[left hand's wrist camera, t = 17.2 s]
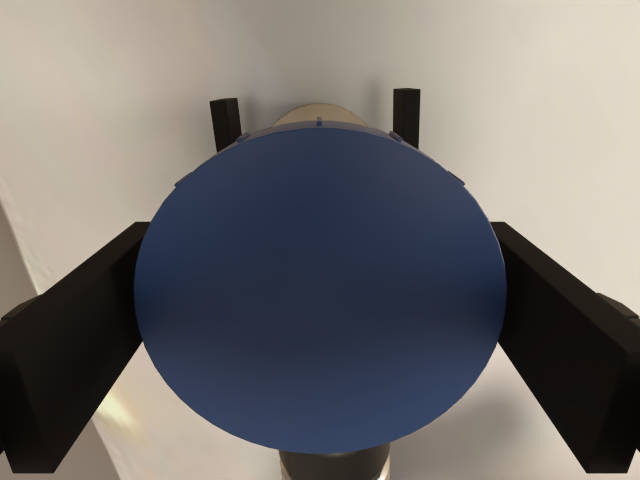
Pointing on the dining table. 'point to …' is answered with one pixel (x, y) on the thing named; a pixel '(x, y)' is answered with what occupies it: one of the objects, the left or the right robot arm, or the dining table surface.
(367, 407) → the lid
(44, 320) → the left robot arm
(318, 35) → the dining table surface
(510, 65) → the dining table surface
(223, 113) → the right robot arm
